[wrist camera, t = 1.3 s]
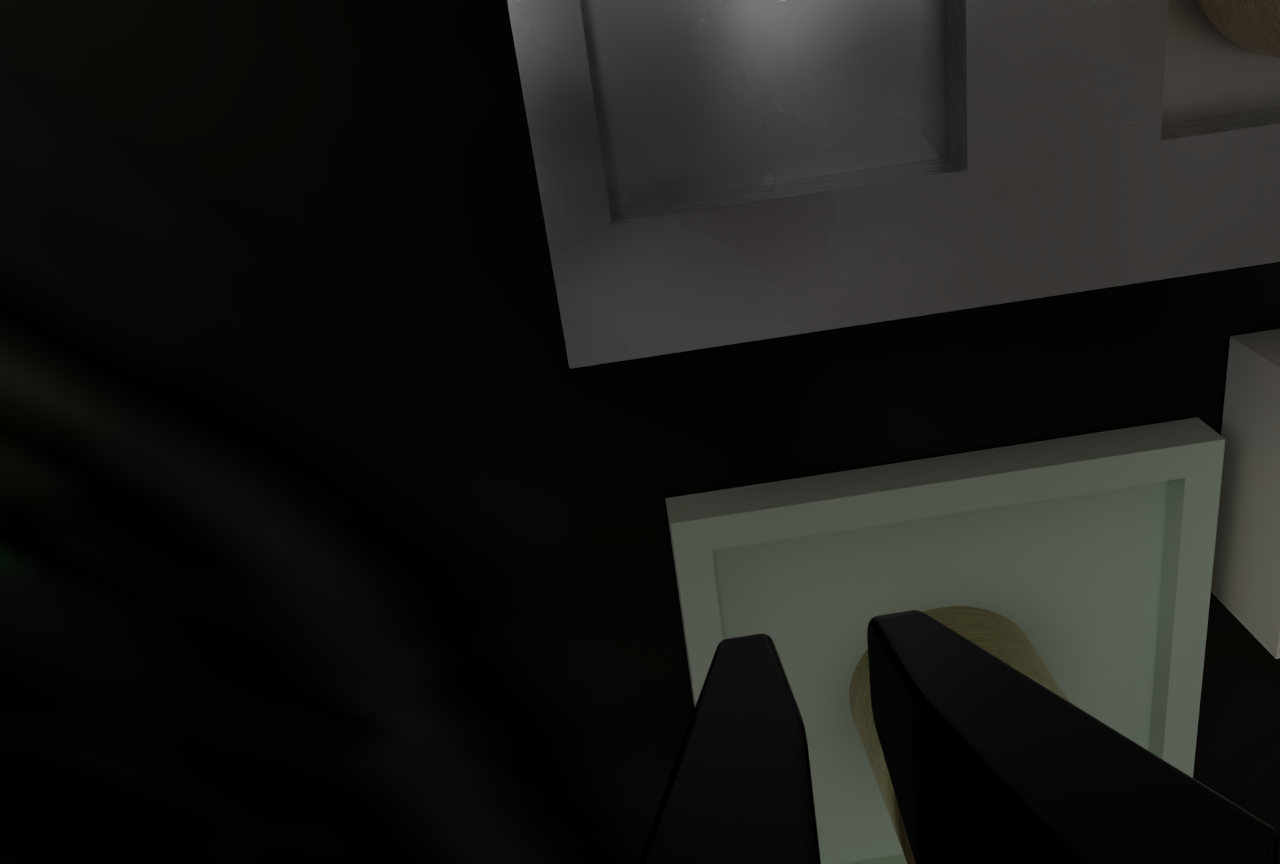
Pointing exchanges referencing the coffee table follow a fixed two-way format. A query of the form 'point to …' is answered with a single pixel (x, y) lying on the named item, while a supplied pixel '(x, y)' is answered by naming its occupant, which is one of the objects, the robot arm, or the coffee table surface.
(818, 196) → the pallet plate
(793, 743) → the robot arm
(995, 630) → the billet
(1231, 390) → the button console
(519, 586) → the coffee table surface
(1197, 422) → the pad
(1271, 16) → the billet seated
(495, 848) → the coffee table surface
